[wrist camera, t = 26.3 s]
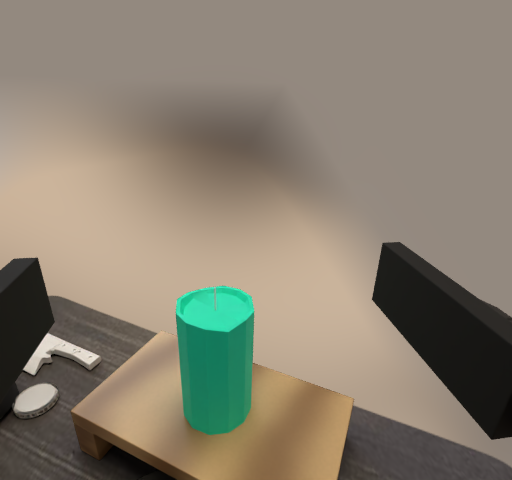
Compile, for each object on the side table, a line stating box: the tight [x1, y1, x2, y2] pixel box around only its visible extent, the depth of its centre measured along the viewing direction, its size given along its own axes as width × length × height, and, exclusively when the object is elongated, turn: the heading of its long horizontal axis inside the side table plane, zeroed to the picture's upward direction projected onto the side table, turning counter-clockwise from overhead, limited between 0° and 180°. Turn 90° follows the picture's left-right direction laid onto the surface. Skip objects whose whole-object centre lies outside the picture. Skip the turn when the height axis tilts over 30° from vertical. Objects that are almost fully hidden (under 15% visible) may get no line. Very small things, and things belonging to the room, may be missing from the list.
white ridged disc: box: [13, 382, 59, 418], centre depth 34 cm, size 4×4×1 cm
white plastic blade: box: [23, 333, 101, 375], centre depth 40 cm, size 5×15×1 cm, turn 65°
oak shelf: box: [71, 331, 354, 480], centre depth 30 cm, size 22×12×5 cm, turn 66°
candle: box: [176, 286, 254, 435], centre depth 27 cm, size 6×6×12 cm
